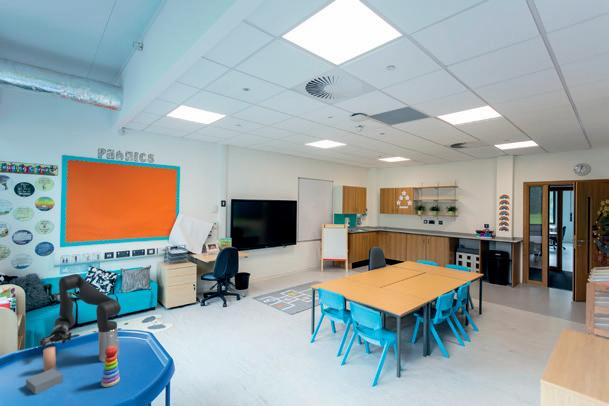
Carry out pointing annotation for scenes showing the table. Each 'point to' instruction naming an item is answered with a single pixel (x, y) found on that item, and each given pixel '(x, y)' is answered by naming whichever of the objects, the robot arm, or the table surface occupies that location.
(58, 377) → the slate base block
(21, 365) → the table surface
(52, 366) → the terracotta peg
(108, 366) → the stacking toy
